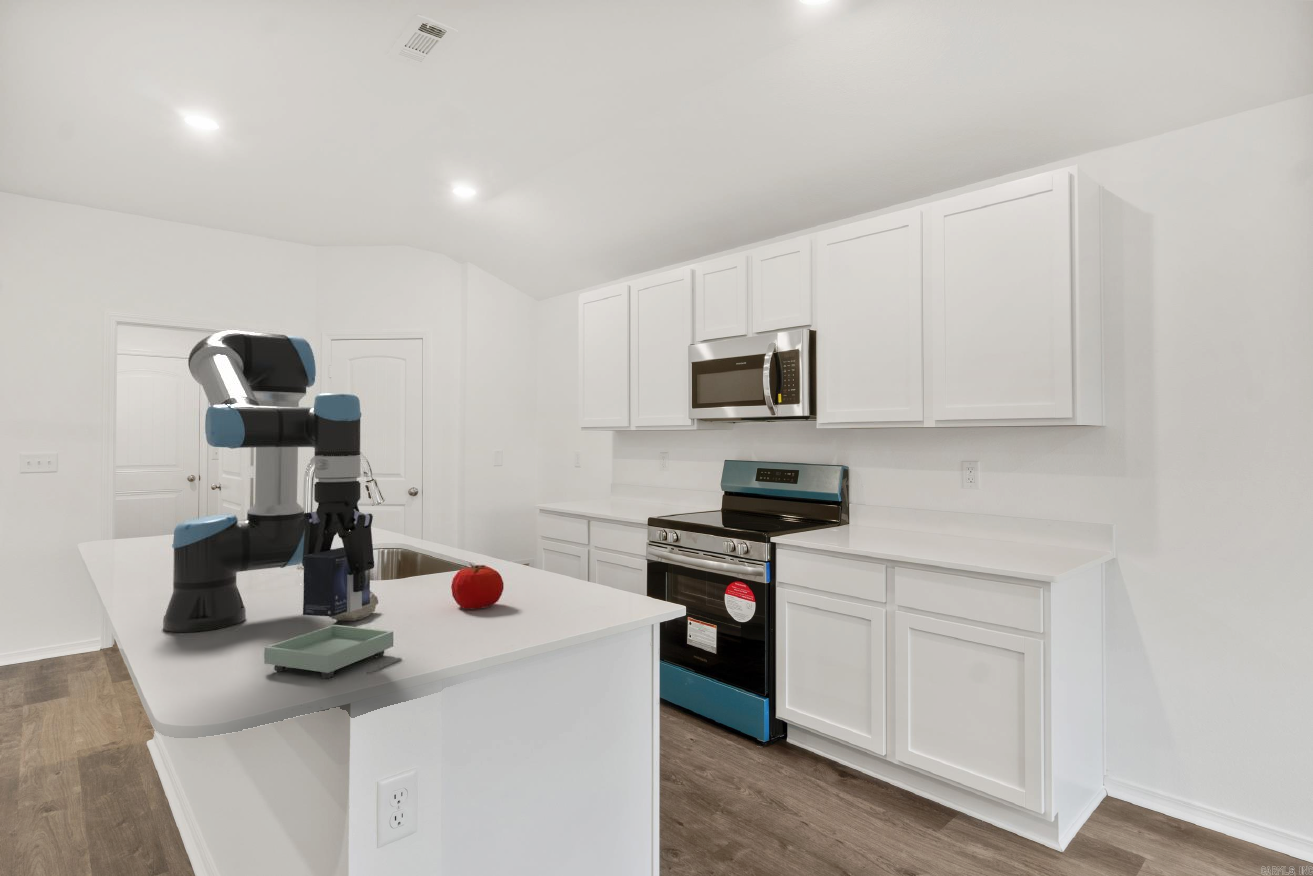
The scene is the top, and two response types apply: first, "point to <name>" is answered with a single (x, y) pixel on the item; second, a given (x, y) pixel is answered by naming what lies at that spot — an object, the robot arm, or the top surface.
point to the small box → (328, 583)
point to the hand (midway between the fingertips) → (337, 608)
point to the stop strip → (384, 665)
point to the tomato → (477, 587)
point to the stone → (359, 611)
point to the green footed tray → (328, 649)
